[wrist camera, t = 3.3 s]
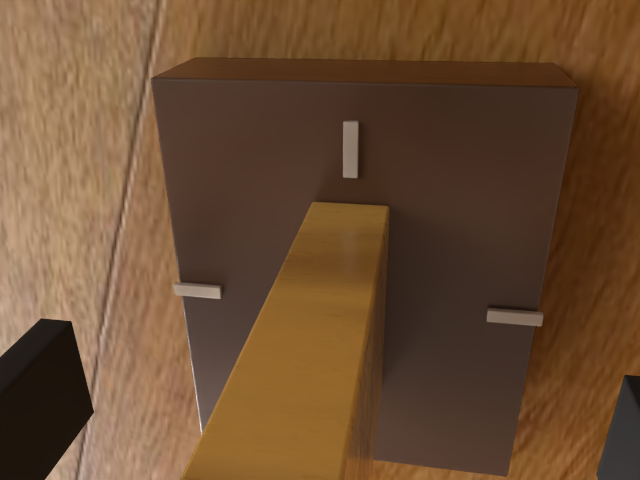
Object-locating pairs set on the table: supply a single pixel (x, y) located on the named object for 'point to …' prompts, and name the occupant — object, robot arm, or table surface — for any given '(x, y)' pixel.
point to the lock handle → (309, 361)
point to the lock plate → (404, 222)
